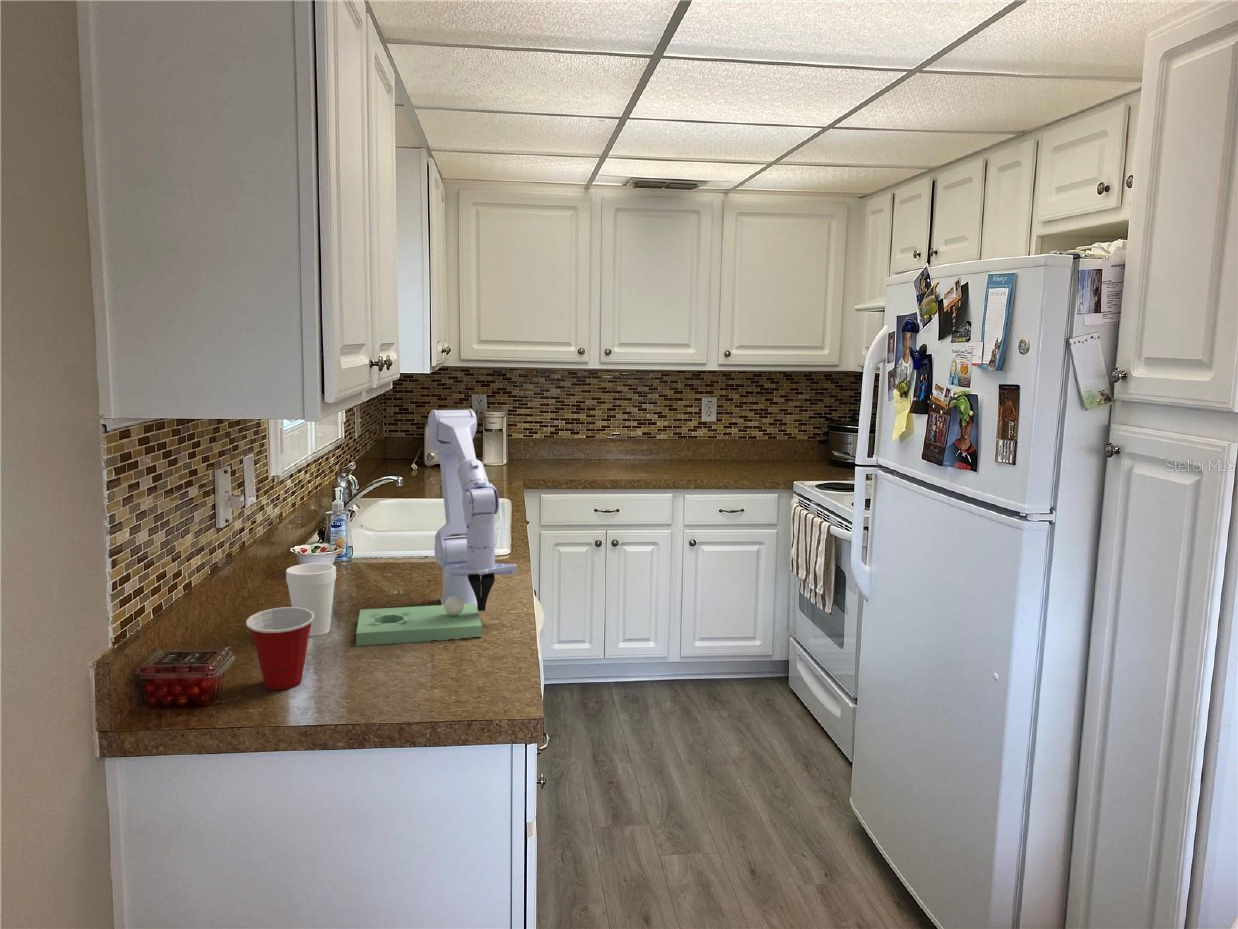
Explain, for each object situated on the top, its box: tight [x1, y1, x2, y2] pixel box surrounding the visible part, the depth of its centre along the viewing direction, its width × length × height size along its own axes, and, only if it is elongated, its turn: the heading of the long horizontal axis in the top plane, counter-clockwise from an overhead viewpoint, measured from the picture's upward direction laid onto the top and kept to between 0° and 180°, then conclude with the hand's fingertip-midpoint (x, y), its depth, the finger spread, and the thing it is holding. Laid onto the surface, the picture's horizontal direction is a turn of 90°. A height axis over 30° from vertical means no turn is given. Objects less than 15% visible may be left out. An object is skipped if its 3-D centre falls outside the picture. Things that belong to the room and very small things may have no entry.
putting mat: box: [355, 603, 483, 647], centre depth 178 cm, size 16×24×2 cm, turn 104°
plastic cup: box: [245, 606, 315, 691], centre depth 147 cm, size 11×11×12 cm
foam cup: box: [285, 562, 337, 637], centre depth 175 cm, size 10×9×13 cm
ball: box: [444, 596, 464, 616], centre depth 179 cm, size 4×4×4 cm
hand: (481, 609), depth 181 cm, fingers closed
